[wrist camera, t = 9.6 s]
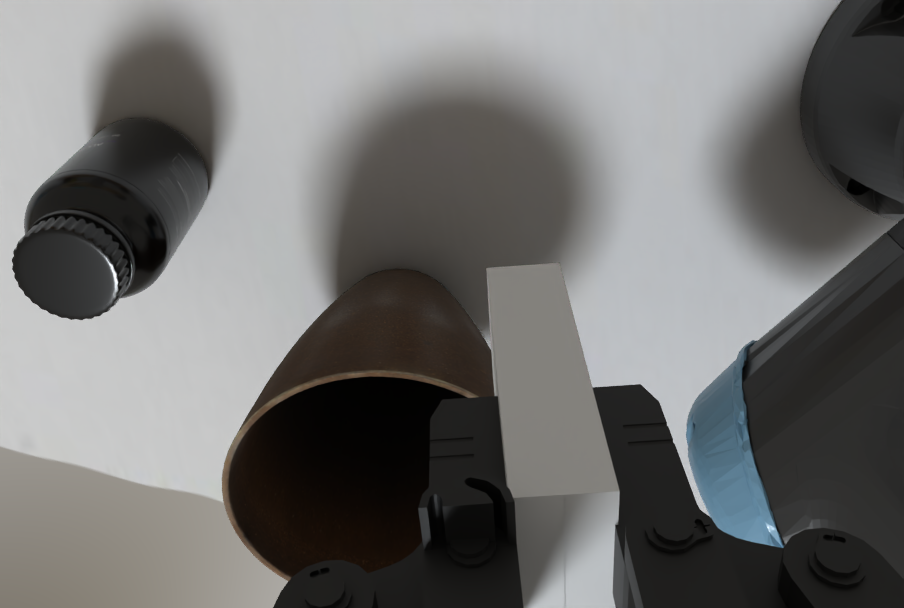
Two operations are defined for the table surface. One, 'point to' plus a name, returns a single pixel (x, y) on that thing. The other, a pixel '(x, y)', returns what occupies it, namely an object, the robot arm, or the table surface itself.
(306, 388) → the plant pot
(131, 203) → the supplement bottle
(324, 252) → the table surface
